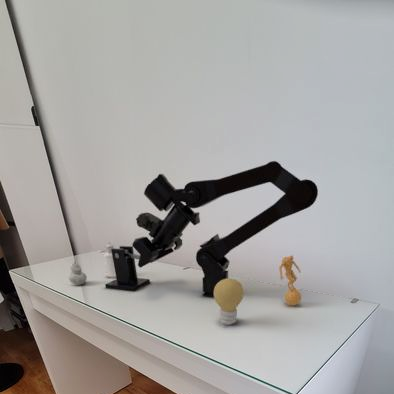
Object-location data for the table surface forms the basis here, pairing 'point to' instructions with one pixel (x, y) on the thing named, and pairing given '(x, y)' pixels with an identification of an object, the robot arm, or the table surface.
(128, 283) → the bracket
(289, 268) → the figurine
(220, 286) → the light bulb
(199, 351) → the table surface
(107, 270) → the eye dropper bottle
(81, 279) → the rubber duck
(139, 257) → the lever
